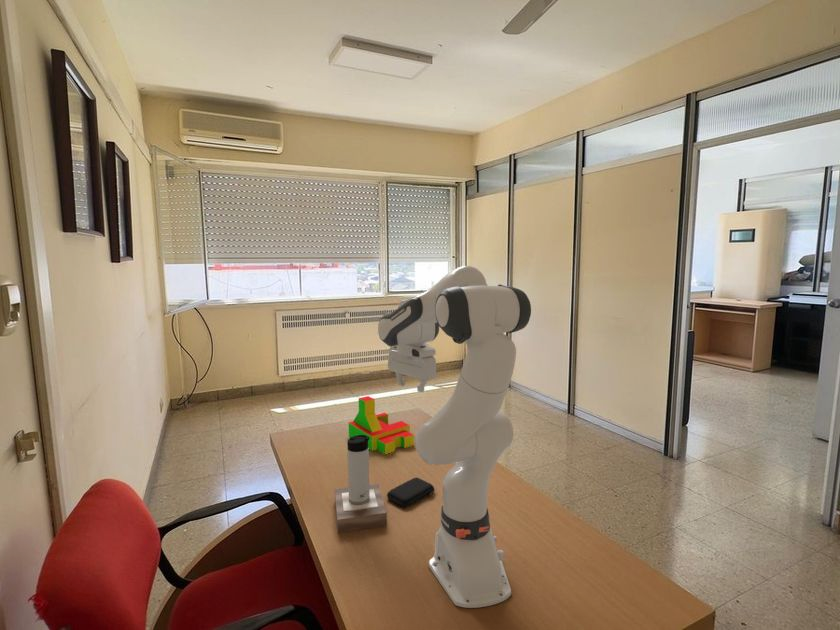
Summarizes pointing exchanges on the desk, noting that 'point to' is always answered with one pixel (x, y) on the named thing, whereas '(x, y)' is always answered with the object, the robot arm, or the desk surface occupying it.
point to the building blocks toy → (379, 428)
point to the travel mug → (358, 469)
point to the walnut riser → (360, 510)
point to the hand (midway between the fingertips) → (411, 388)
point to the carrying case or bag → (410, 492)
